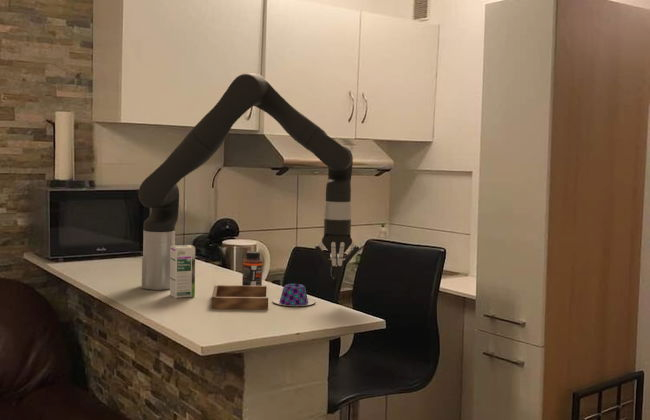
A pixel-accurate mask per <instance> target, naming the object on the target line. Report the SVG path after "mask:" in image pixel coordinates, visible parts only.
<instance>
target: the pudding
mask: <svg viewBox="0 0 650 420" xmlns="http://www.w3.org/2000/svg"><path fill="white" fill-rule="evenodd" d="M279 301H280V302H279ZM272 302H273V303H274V304H276V305H281V306H285V307H286V306H287V307H305V306H310V305H313V304H315V303H316V301H315V299H312V298H308V295H307V290H306V286H305V285H303V284H300V283H288V284H285V285H284V286H283V287H282V292H281V296H280V297H276V298H274V299H272ZM279 303H280V304H279Z"/></svg>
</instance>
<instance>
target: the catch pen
mask: <svg viewBox="0 0 650 420" xmlns="http://www.w3.org/2000/svg"><path fill="white" fill-rule="evenodd" d="M267 288H268V287H267V285H262V286H245V285H237V284H236V285H235V284H233V285H232V284H231V285H230V284H229V285H228V284H226V285H225V284H217V285H214V286H213V288H212V289H213V290H212V294H211V309H215V310H269V297H267Z"/></svg>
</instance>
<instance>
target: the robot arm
mask: <svg viewBox="0 0 650 420" xmlns="http://www.w3.org/2000/svg"><path fill="white" fill-rule="evenodd" d="M253 107H256V108H258V109H259V110H261V111H263V112H265V113H266V114H268V115H269V116H270V117H271V118H273V119H274V121H276V122H277V123H278V124H279V126H281V128H283V130H284V131H285V132H286V133H287V134H288V135H289V136H290V137H291V139H293V140H294V141H295V142H297V143H298V144H299V145H301V146H302V147H303V148H305V149H306V150H307V151H309V152H310V153H312V154H313V155H314V156H315V157H316V158H317V159H318V160H319V161H320V162H321V163H323V164H324V165H325V166H326V167H327V168H328V170H327V171H328V173H327V182H326V186H325V203H324V204H325V205H324V212H323V236H322V238H321V242H320V243H318V244H315V245H314V250H316V252H317V253H318V254H319V256H320V257H321V258H322V260H323V261H324V263H325V264H328V265H330V277H332V279H333V280H340V278H342V277H341V276H342V268H343V267H342V266H343V265H348V263H350V261H351V260H352V259H353V258H354V256H355V255H356V254H357V253H358V252H359V250H360V247H359V245H356V244H355V243H353V239H352V236H351V235H352V205H351V204H352V203H351V201H352V200H351V197H352V185H351V184H352V183H351V182H352V181H351V180H352V176H353V175H352V174H353V163H354V162H353V160H354V157H353V154H352V151H351V150H350V149H349V148H348V147H346V146H343V145H342V144H340V143H338V142H337V141H336V140H334V139H333V138H332V137H330V136H329V134H328V133H327V132H326V131H325V130H324V129H323V128H321V127H320V126H318V124H316V123H315V122H313V121H312V120H311V119H309V118H308V117H307V116H305V115H304V114H303V113H302V112H301V111H299V110H298V109H297V108H295V107H294V106H293V105H291V103H289V102H288V101H287V100H286V99H285V98H284V97H283V96H282V95H280V93H279V92H278V91H277V90H276V89H275V88H274V87H273V86H272V85H271V84H270V83H269V81H267V80H266V79H265V77H264V76H262V75H261V74H259V73H255V72H254V73H253V72H250V73H249V72H247V73H243V74H240V75H238V76H236V77H235V78H234V80H233V81H232V82H231V83H230V85H229V86H228V87H227V89H226V91H224V93H223V94H222V96H221V97H220V99H219V100H218V101H217V103H216V104H215V105H214V106H213V108H212V109H211V110H209V111H208V112H207V113H206V114H205V115H204V116H203V117H202V118H201V120H200V121H198V123H196V125H194V127H193V128H192V129H191V130H190V131H189V133H188V134H187V135H186V136H185V137H184V138H183V139H182V141H181V142H180V143H179V144H178V145H177V147H176V148H175V149H174V150H172V152H171V153H170V154H169V155H168V156H167V158H166V159H165V160H164V161H163V162H162V163H161V164H160V165H159V166H158V167H157V168H156V169H155V170H154V171H153V172H152V173H150V174H149V175H148V176H147V177H146V178H145V179H144V180H143V181H142V182H141V184H140V186H139V189H138V193H137V195H138V199H139V202H140V203H141V205H142V206H144V207H145V208H149V209H151V211H150V214H149V216H148V217H147V218H146V219H145V220H144V221H143V237H142V238H143V241H142V242H143V247H142V248H143V249H142V251H143V252H142V255H143V256H141V289H147V290H154V291H155V290H157V291H159V290H161V291H162V290H163V291H164V290H170V246H173V245H176V225H177V223H178V219H179V212H180V211H179V209H180V189H179V185H178V183H179V182H180V181H181V180H182V179H184V178H185V177H186V176H188V175H190V174H191V173H193V172H194V171H195V170H198V168H200V167H202V166H203V165H204V164H205V163H207V162H208V161H209V160H210V159H211V158H212V157H213V156H214V155H215V154H216V152H217V151H218V150H219V149H220V148H221V147H222V145H223V144H224V142H225V140H226V139H227V136H228V135H229V133H230V131H231V129H232V127H233V126H234V125H235V123H237V121H238V120H239V119H240V118H242V116H243V115H244V114H245V113H246V112H248V110H250V109H251V108H253ZM324 247H325V248H324ZM325 249H326V251H328V253H330V254H329V256H330V258H328V257H327V255H326V253H324V250H325ZM348 249H349V251H348V253H347V254H346V255H345V256H344V254H345V253H346V252H347V250H348Z"/></svg>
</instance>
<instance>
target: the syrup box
mask: <svg viewBox="0 0 650 420" xmlns="http://www.w3.org/2000/svg"><path fill="white" fill-rule="evenodd" d="M195 282H196V246H194V245H192V244H183V245H182V244H180V245H179V244H178V245H176V244H175V245H173V246H170V289H169V294H170V295H171V296H172V298H174V299H180V298H195V296H196V290H195V289H196V288H195V287H196V283H195Z"/></svg>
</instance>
